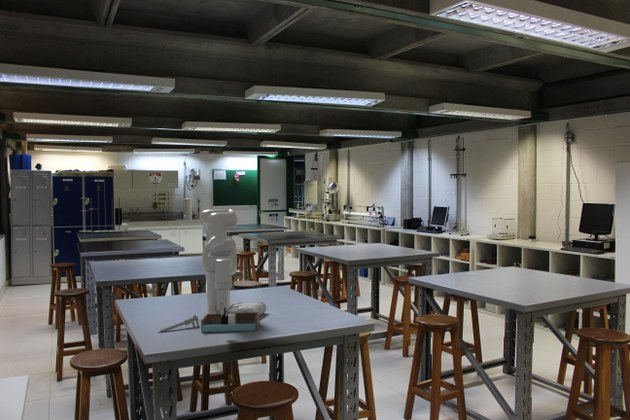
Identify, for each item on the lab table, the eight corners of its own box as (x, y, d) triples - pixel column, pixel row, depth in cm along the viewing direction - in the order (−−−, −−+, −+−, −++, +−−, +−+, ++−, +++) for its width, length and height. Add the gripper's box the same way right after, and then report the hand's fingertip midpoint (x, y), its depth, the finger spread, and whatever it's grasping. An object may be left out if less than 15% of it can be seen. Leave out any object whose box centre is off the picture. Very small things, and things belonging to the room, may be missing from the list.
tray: (207, 325, 253) (207, 319, 253) (257, 324, 253) (257, 317, 253) (202, 332, 241) (202, 325, 241) (255, 330, 242) (255, 324, 241)
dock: (206, 325, 254) (206, 313, 254) (259, 323, 255) (259, 312, 254) (201, 331, 242) (200, 319, 242) (257, 330, 243) (256, 318, 242)
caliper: (197, 326, 255) (197, 313, 255) (198, 326, 254) (198, 314, 254) (157, 332, 244) (157, 320, 244) (158, 333, 243) (158, 320, 243)
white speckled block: (226, 325, 250) (226, 313, 250) (236, 325, 250) (235, 313, 250) (225, 328, 245) (224, 316, 245) (234, 327, 245) (234, 315, 245)
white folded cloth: (270, 311, 283) (269, 298, 283) (251, 324, 256) (250, 309, 256) (238, 310, 288) (238, 297, 288) (216, 323, 261) (216, 308, 261)
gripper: (218, 282, 238) (219, 319, 240) (212, 288, 223) (213, 329, 225) (234, 281, 238) (235, 319, 240) (229, 288, 224) (230, 328, 225)
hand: (224, 324), depth 232 cm, fingers closed
